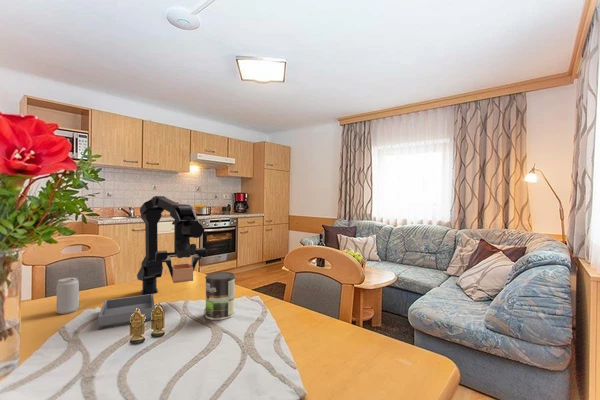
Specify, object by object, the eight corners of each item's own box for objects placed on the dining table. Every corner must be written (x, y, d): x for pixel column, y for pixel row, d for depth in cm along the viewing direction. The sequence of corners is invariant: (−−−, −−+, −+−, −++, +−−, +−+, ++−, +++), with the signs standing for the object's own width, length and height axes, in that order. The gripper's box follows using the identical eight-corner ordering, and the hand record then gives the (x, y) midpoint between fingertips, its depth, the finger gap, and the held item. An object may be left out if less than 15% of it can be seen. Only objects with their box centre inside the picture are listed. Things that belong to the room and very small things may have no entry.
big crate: (104, 311, 107) (104, 300, 107) (153, 303, 114) (153, 293, 114) (97, 329, 91) (97, 316, 91) (154, 319, 99) (154, 308, 99)
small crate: (171, 277, 117) (171, 264, 117) (189, 275, 120) (189, 263, 120) (173, 283, 108) (173, 269, 108) (193, 280, 111) (193, 267, 111)
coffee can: (215, 323, 96) (215, 280, 96) (199, 314, 103) (200, 275, 103) (240, 314, 104) (240, 275, 104) (224, 307, 111) (225, 270, 111)
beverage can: (66, 315, 103) (66, 281, 103) (51, 314, 104) (52, 280, 104) (82, 309, 109) (83, 277, 109) (69, 307, 110) (69, 276, 110)
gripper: (156, 240, 103) (156, 283, 102) (210, 237, 112) (210, 277, 111) (155, 236, 112) (155, 276, 112) (204, 234, 121) (204, 271, 121)
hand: (181, 275), depth 114 cm, fingers closed on small crate, 7 cm apart
